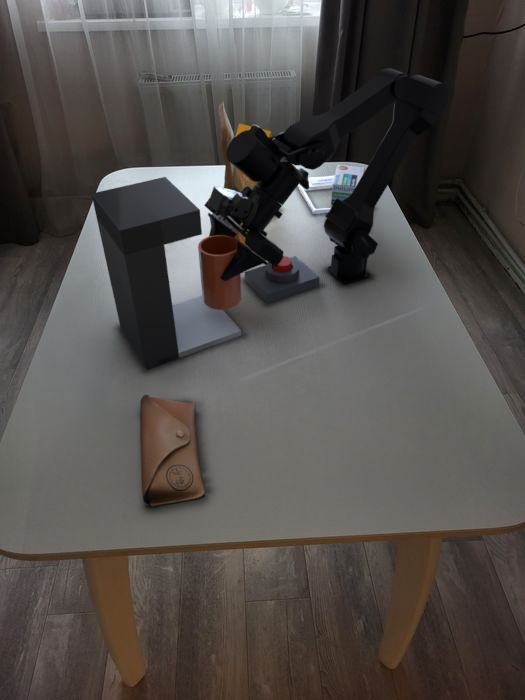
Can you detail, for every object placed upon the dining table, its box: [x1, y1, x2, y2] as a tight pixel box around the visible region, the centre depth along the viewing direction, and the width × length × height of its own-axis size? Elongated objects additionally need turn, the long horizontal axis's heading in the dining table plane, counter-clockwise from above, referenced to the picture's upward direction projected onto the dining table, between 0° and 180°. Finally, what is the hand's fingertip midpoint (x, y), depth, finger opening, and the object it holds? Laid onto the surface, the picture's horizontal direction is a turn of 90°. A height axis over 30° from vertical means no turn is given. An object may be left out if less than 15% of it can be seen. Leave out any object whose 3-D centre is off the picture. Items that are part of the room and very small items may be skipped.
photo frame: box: [296, 174, 335, 215], centre depth 141 cm, size 15×1×18 cm
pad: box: [244, 255, 321, 304], centre depth 110 cm, size 12×9×4 cm
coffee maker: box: [91, 176, 242, 371], centre depth 92 cm, size 18×13×26 cm
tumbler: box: [197, 235, 242, 311], centre depth 97 cm, size 7×7×11 cm
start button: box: [273, 255, 292, 272], centre depth 109 cm, size 4×4×2 cm
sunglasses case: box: [139, 394, 206, 507], centre depth 79 cm, size 18×7×7 cm
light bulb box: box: [330, 164, 366, 210], centre depth 128 cm, size 11×7×11 cm, turn 168°
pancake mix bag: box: [218, 100, 249, 245], centre depth 115 cm, size 7×19×28 cm, turn 178°
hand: (213, 269), depth 96 cm, fingers closed on tumbler, 7 cm apart
